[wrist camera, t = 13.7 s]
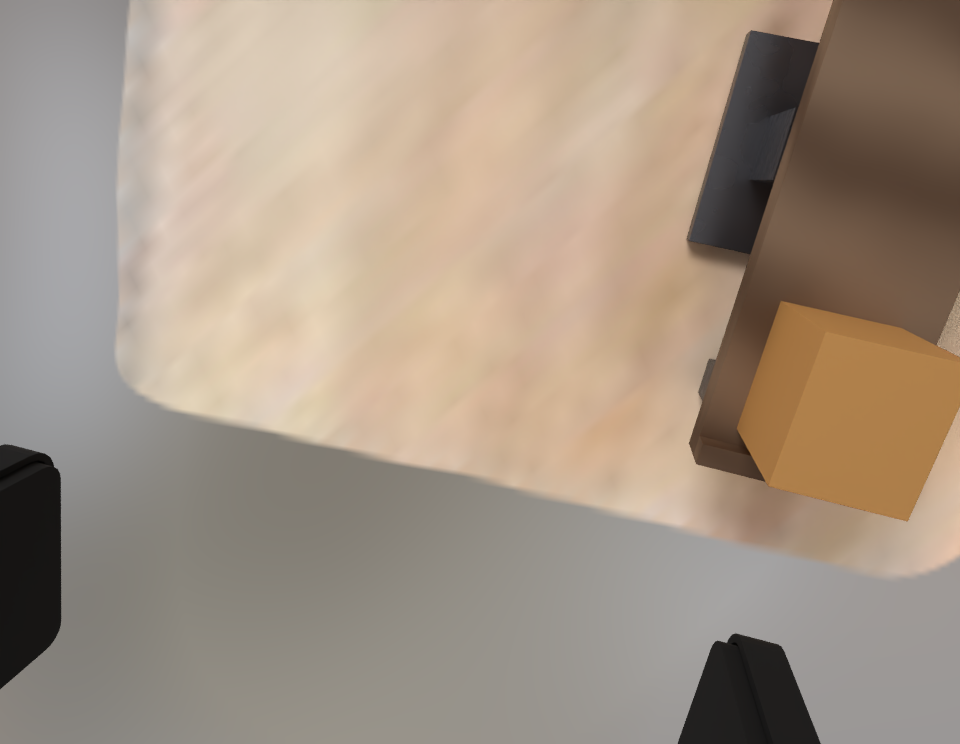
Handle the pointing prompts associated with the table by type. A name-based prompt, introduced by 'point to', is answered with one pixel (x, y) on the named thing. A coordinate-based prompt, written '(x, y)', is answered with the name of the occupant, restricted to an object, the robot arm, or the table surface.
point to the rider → (849, 410)
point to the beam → (853, 200)
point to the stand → (750, 144)
